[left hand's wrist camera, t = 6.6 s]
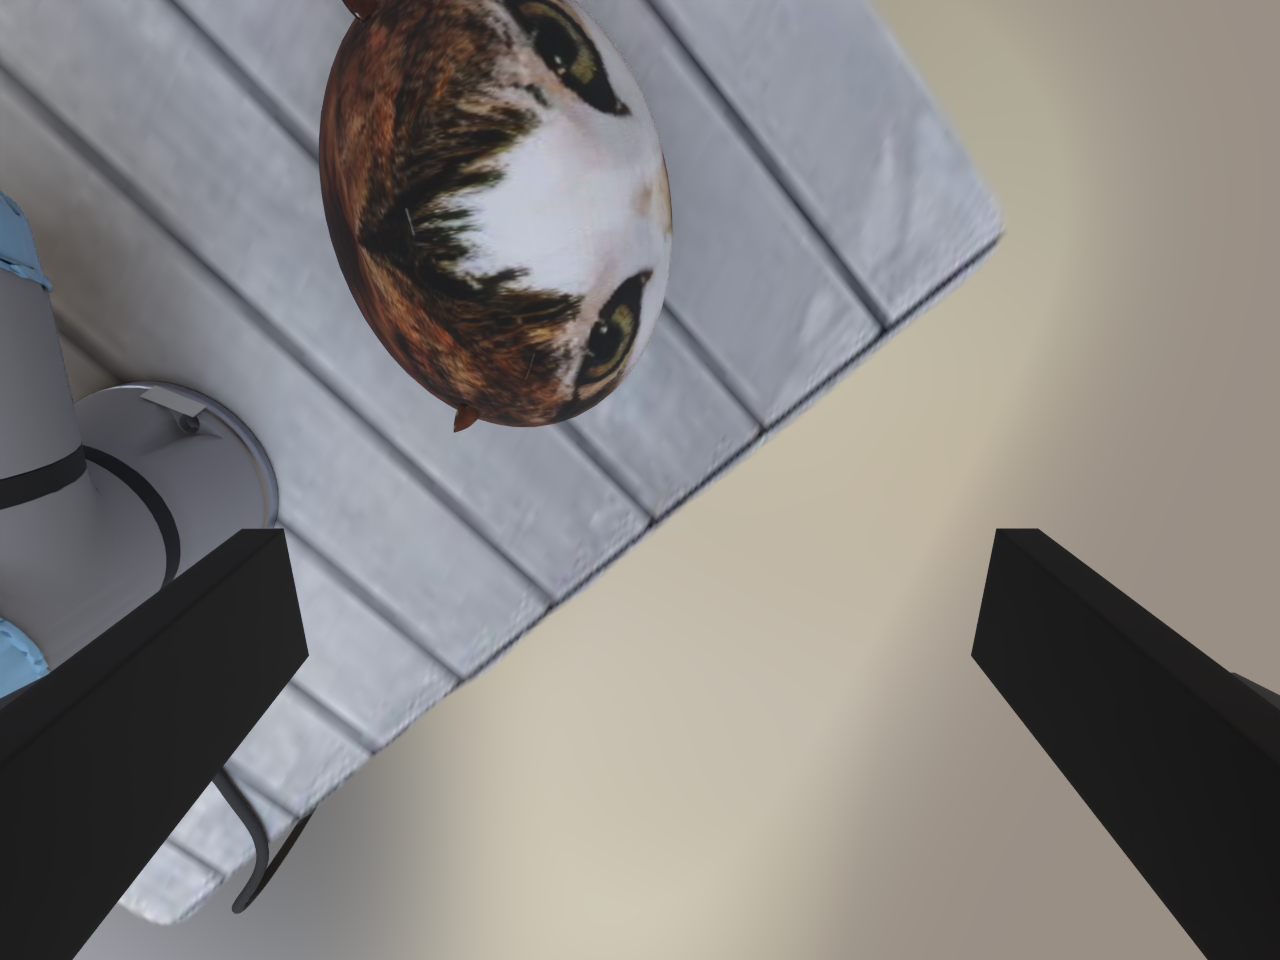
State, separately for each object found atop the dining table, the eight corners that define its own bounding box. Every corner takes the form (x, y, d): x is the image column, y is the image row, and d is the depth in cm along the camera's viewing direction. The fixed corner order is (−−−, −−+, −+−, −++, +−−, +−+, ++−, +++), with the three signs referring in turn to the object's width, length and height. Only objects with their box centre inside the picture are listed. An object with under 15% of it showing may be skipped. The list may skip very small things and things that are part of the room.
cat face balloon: (778, 373, 42) (543, 501, 28) (575, 365, 53) (337, 454, 39) (746, -66, 34) (392, -184, 20) (514, 35, 45) (187, 4, 31)
